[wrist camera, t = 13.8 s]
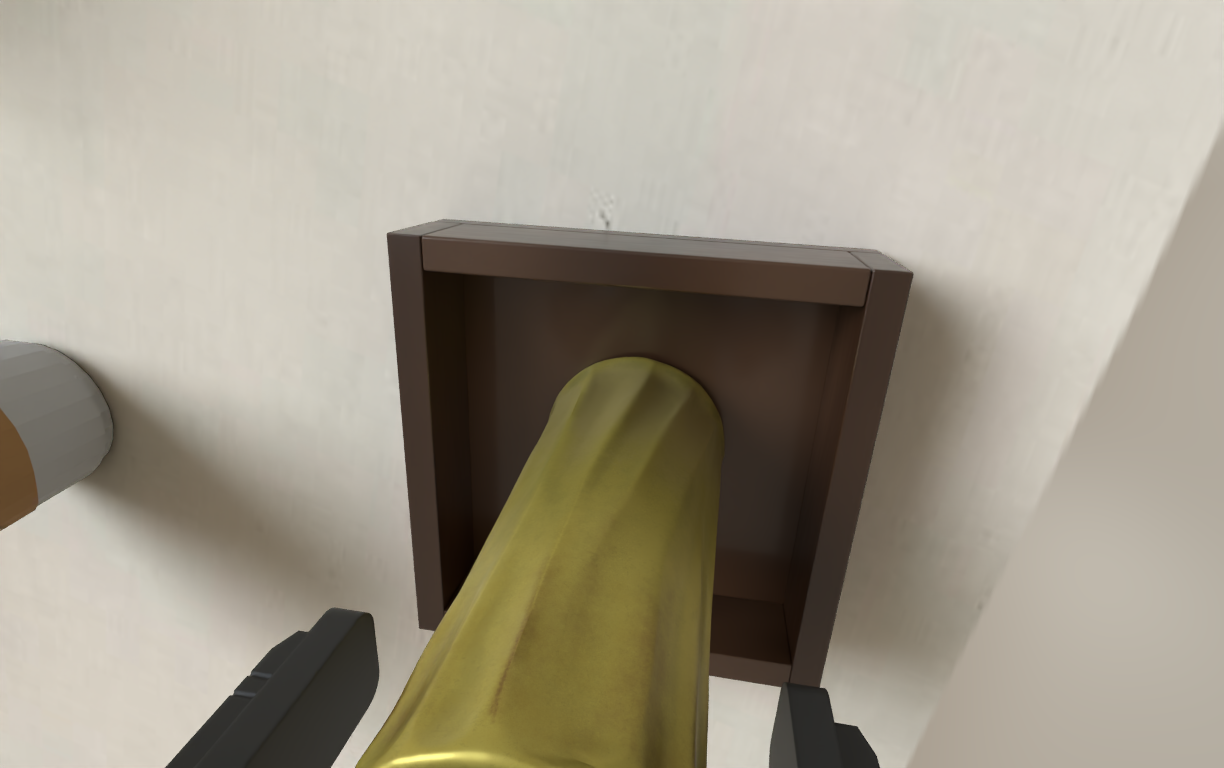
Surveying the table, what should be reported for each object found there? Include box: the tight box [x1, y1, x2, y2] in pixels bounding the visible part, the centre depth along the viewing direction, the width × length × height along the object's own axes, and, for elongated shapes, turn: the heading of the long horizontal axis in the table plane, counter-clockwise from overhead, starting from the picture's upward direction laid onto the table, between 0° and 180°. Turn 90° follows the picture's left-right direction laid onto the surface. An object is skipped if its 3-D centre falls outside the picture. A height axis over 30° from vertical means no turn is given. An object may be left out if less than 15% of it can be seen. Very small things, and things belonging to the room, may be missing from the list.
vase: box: [355, 357, 725, 768], centre depth 15 cm, size 6×6×14 cm
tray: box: [387, 219, 913, 687], centre depth 20 cm, size 14×14×4 cm
